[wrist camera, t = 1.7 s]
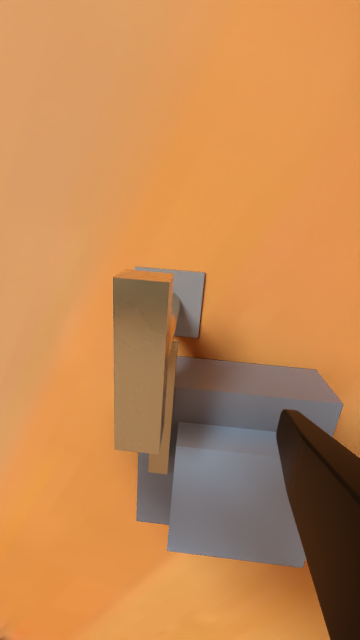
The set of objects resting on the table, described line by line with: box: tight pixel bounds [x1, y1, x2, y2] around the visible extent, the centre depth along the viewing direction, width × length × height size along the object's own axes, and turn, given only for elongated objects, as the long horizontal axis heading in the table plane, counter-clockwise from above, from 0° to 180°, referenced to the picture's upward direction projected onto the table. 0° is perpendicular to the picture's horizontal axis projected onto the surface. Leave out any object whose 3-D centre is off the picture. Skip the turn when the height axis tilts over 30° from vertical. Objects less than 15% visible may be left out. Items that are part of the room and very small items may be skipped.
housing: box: [135, 267, 343, 525], centre depth 19 cm, size 18×13×4 cm
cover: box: [167, 422, 306, 568], centre depth 18 cm, size 9×9×2 cm
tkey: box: [113, 270, 181, 474], centre depth 15 cm, size 13×2×9 cm, turn 176°
